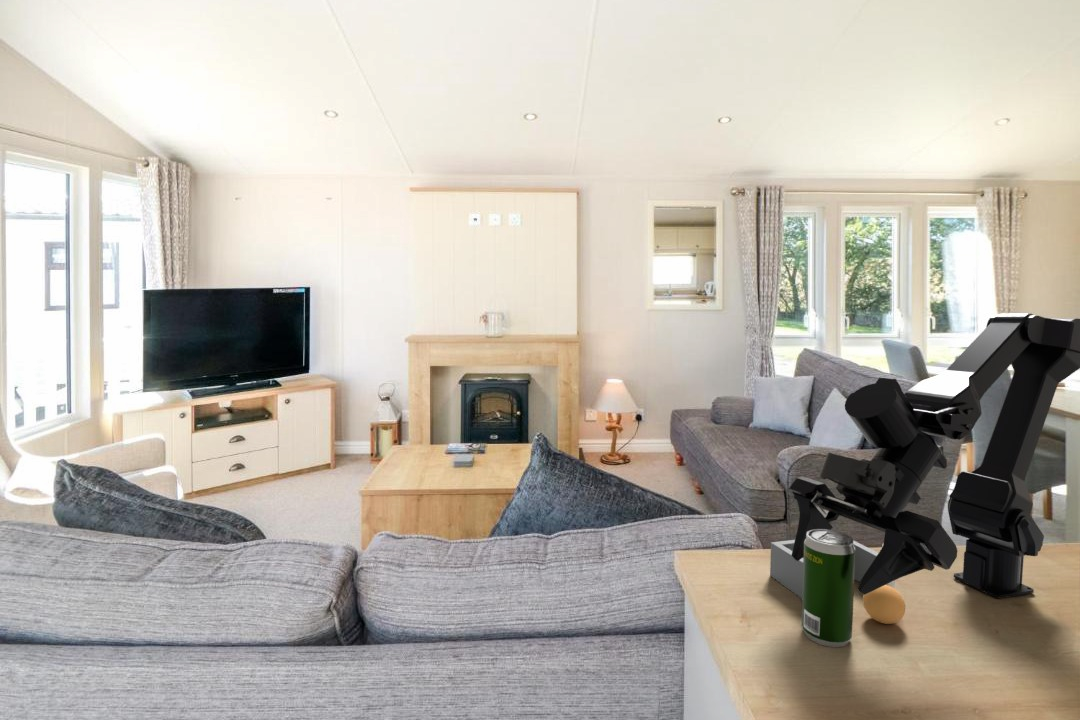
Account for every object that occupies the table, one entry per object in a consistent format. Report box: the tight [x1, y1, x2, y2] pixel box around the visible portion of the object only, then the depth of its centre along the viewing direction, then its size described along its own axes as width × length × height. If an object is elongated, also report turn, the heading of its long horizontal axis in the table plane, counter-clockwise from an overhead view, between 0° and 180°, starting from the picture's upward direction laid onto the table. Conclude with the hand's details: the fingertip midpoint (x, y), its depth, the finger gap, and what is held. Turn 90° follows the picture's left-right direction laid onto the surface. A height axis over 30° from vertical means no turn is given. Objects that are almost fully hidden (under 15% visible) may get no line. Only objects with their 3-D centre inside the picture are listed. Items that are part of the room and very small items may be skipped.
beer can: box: [800, 529, 855, 648], centre depth 67 cm, size 5×5×12 cm
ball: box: [862, 585, 906, 625], centre depth 70 cm, size 4×4×4 cm
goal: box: [769, 539, 896, 599], centre depth 79 cm, size 13×10×7 cm
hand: (825, 574), depth 66 cm, fingers open, 9 cm apart
